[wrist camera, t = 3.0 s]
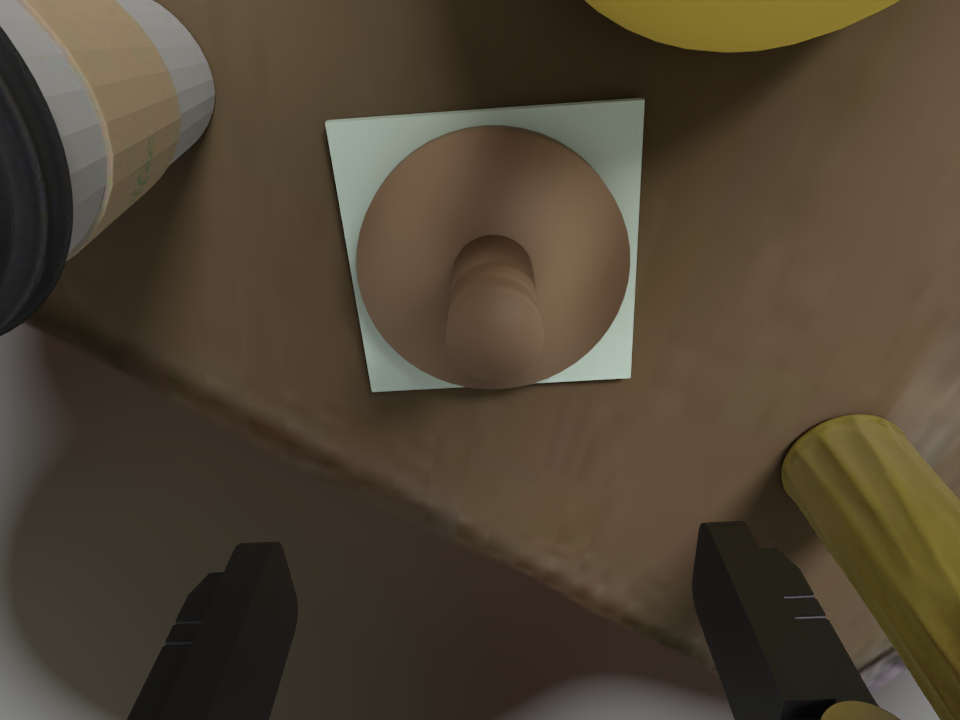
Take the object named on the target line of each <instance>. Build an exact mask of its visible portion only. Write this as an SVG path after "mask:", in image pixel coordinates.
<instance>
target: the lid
mask: <svg viewBox="0 0 960 720" xmlns="http://www.w3.org/2000/svg"><path fill="white" fill-rule="evenodd" d="M356 268H357V278H358V284H359V288H360V293H361V297H362V300H363V302H364V305H365V307H366V310H367V313H368V314H369V316H370V318H371V320H372V322H373V324H374V325H375V327H376V329H377V330H378V331H379V333H380V334H381V335H382V337H383V338H384V340H385V341H386V342H387V343H388V344H389V345H390V346H391V347H392V348H393V349H394V350H395V351H396V352H397V353H398V354H399V355H400V356H401V357H403V358H404V359H405V360H406V361H407V362H409V363H410V364H412V365H413V366H415V367H416V368H418V369H419V370H421V371H423V372H425V373H427V374H429V375H431V376H433V377H435V378H437V379H440V380H443V381H446V382H448V383H451V384H455V385H459V386H464V387H469V388H477V389H507V388H516V387H521V386H525V385H530V384H533V383H536V382H539V381H542V380H545V379H548V378H550V377H552V376H554V375H556V374H558V373H560V372H562V371H564V370H565V369H567V368H568V367H570V366H572V365H573V364H575V363H576V362H577V361H579V360H580V359H581V358H582V357H584V356H585V355H586V354H587V353H589V352H590V350H591V349H592V348H593V347H594V346H595V345H596V344H597V343H598V342H599V341H600V340H601V339H602V337H603V336H604V335H605V333H606V332H607V331H608V329H609V328H610V326H611V325H612V323H613V321H614V319H615V318H616V316H617V314H618V312H619V309H620V307H621V304H622V302H623V300H624V297H625V293H626V289H627V285H628V281H629V272H630V245H629V239H628V233H627V229H626V225H625V222H624V219H623V216H622V213H621V211H620V209H619V207H618V205H617V203H616V201H615V199H614V197H613V195H612V194H611V192H610V191H609V189H608V188H607V186H606V185H605V183H604V182H603V180H602V179H601V177H600V176H599V174H598V173H597V172H596V171H595V170H594V169H593V168H592V167H591V166H590V165H589V163H588V162H587V161H585V160H584V159H583V158H582V157H581V156H580V155H578V154H577V153H576V152H575V151H574V150H572V149H570V148H569V147H567V146H566V145H564V144H562V143H561V142H559V141H558V140H555V139H553V138H551V137H548V136H546V135H544V134H542V133H539V132H535V131H532V130H528V129H525V128H520V127H513V126H506V125H482V126H475V127H468V128H463V129H459V130H456V131H452V132H449V133H446V134H444V135H441V136H439V137H437V138H435V139H432V140H430V141H428V142H427V143H425V144H424V145H422V146H420V147H419V148H417V149H415V150H414V151H413V152H411V153H410V154H409V155H408V156H407V157H405V158H404V159H403V160H402V161H401V162H400V163H399V164H398V165H397V166H396V167H395V168H394V169H393V170H392V171H391V172H390V173H389V175H388V176H387V177H386V179H385V180H384V182H383V183H382V185H381V186H380V187H379V189H378V190H377V192H376V194H375V196H374V198H373V200H372V202H371V204H370V206H369V208H368V210H367V212H366V214H365V217H364V220H363V223H362V226H361V229H360V233H359V238H358V244H357V255H356Z"/></svg>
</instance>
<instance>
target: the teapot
mask: <svg viewBox="0 0 960 720" xmlns="http://www.w3.org/2000/svg"><path fill="white" fill-rule="evenodd" d="M584 1H586V2H587V3H588V4H589V5H590V6H592V7H593V8H594V9H595V10H596V11H598V12H599V13H601V14H602V15H604V16H605V17H607V18H609V19H610V20H612V21H614V22H615V23H617V24H619V25H620V26H622V27H624V28H625V29H627V30H629V31H632V32H634V33H636V34H639V35H641V36H644V37H646V38H648V39H651V40H653V41H656V42H659V43H664V44H668V45H672V46H676V47H680V48H684V49H691V50H702V51H713V52H724V53H731V52H750V51H762V50H767V49H773V48H778V47H783V46H788V45H793V44H796V43H800V42H803V41H806V40H809V39H812V38H815V37H818V36H821V35H824V34H827V33H831V32H834V31H837V30H840V29H842V28H845V27H847V26H849V25H851V24H853V23H855V22H857V21H860V20H862V19H864V18H866V17H868V16H870V15H873V14H875V13H877V12H879V11H881V10H883V9H885V8H887V7H889V6H891V5H893V4H895V3H896V2H898V1H900V0H584Z"/></svg>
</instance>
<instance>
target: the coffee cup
mask: <svg viewBox="0 0 960 720" xmlns="http://www.w3.org/2000/svg"><path fill="white" fill-rule="evenodd" d="M214 101H215V90H214V82H213V77H212V74H211V71H210V68H209V65H208V62H207V60H206V58H205V56H204V55H203V53H202V51H201V49H200V47H199V45H198V44H197V43H196V41H195V40H194V38H193V37H192V36H191V34H190V33H189V31H188V30H187V29H186V28H185V27H184V26H183V25H182V24H181V23H180V22H179V21H178V19H177V18H176V17H175V16H173V15H172V14H171V13H170V12H168V11H167V10H166V9H165V8H164V7H162V6H161V5H160V4H158V3H156V2H154V1H153V0H0V336H1V335H3V334H5V333H7V332H9V331H11V330H13V329H14V328H15V327H17V326H19V325H20V324H22V323H23V322H24V321H25V320H27V319H28V318H29V317H30V316H31V315H33V314H34V313H35V312H36V310H37V309H38V308H39V307H40V306H41V305H42V304H43V303H44V302H45V300H46V299H47V298H48V296H49V295H50V293H51V292H52V291H53V289H54V287H55V285H56V283H57V281H58V280H59V278H60V276H61V273H62V270H63V268H64V265H65V263H66V261H67V260H69V259H70V258H72V257H73V256H75V255H76V254H77V253H78V252H79V251H81V250H82V249H83V248H84V247H85V246H86V245H87V244H88V243H90V242H91V241H92V240H93V239H94V238H95V237H96V236H98V235H99V234H100V233H101V232H102V231H103V230H104V229H105V228H107V227H108V226H109V225H110V224H111V223H112V222H113V221H114V220H116V219H117V218H118V217H119V216H120V215H121V214H122V213H124V212H125V211H126V210H127V209H128V208H129V207H130V206H131V205H133V204H134V203H135V202H136V201H137V200H138V199H139V198H140V197H142V196H143V195H144V194H145V193H146V192H147V191H148V190H150V188H151V187H152V186H153V185H154V184H155V183H156V182H157V181H158V180H159V179H160V178H161V177H162V176H163V174H164V173H165V171H166V169H167V168H168V166H169V165H171V164H172V163H173V162H174V161H175V160H176V159H177V158H179V157H180V156H181V155H182V154H183V153H184V152H185V151H186V150H188V149H189V148H190V147H191V146H192V145H193V144H194V143H195V142H196V141H197V140H198V139H199V138H200V137H201V135H202V134H203V132H204V131H205V129H206V127H207V126H208V124H209V122H210V119H211V116H212V113H213V110H214Z"/></svg>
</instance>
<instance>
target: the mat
mask: <svg viewBox="0 0 960 720" xmlns="http://www.w3.org/2000/svg"><path fill="white" fill-rule="evenodd" d="M644 105H645V100H644V99H643V98H629V99H615V100H601V101H587V102H573V103H559V104H545V105H531V106H517V107H503V108H489V109H475V110H460V111H446V112H432V113H418V114H404V115H390V116H376V117H362V118H348V119H334V120H328V121H326V122H325V126H326V131H327V137H328V143H329V149H330V154H331V160H332V166H333V172H334V177H335V183H336V189H337V195H338V200H339V206H340V212H341V218H342V223H343V229H344V235H345V241H346V246H347V252H348V258H349V264H350V269H351V275H352V281H353V287H354V292H355V298H356V304H357V310H358V315H359V321H360V327H361V333H362V338H363V344H364V350H365V355H366V361H367V367H368V373H369V378H370V384H371V390H372V392H383V391H402V390H420V389H439V388H457V387H464V386H459V385H455V384H451V383H448V382H446V381H443V380H440V379H437V378H435V377H433V376H431V375H429V374H427V373H425V372H423V371H421V370H419V369H418V368H416V367H415V366H413V365H412V364H410V363H409V362H407V361H406V360H405V359H404V358H403V357H401V356H400V355H399V354H398V353H397V352H396V351H395V350H394V349H393V348H392V347H391V346H390V345H389V344H388V343H387V342H386V341H385V340H384V338H383V337H382V335H381V334H380V333H379V331H378V330H377V329H376V327H375V325H374V324H373V322H372V320H371V318H370V316H369V314H368V313H367V310H366V307H365V305H364V302H363V300H362V297H361V293H360V288H359V284H358V278H357V268H356V255H357V244H358V238H359V233H360V229H361V226H362V223H363V220H364V217H365V214H366V212H367V210H368V208H369V206H370V204H371V202H372V200H373V198H374V196H375V194H376V192H377V190H378V189H379V187H380V186H381V185H382V183H383V182H384V180H385V179H386V177H387V176H388V175H389V173H390V172H391V171H392V170H393V169H394V168H395V167H396V166H397V165H398V164H399V163H400V162H401V161H402V160H403V159H404V158H405V157H407V156H408V155H409V154H410V153H411V152H413V151H414V150H415V149H417V148H419V147H420V146H422V145H424V144H425V143H427V142H428V141H430V140H432V139H435V138H437V137H439V136H441V135H444V134H446V133H449V132H452V131H456V130H459V129H463V128H468V127H475V126H482V125H506V126H513V127H520V128H525V129H528V130H532V131H535V132H539V133H542V134H544V135H546V136H548V137H551V138H553V139H555V140H558V141H559V142H561V143H562V144H564V145H566V146H567V147H569V148H570V149H572V150H574V151H575V152H576V153H577V154H578V155H580V156H581V157H582V158H583V159H584V160H585V161H587V162H588V163H589V165H590V166H591V167H592V168H593V169H594V170H595V171H596V172H597V173H598V174H599V176H600V177H601V179H602V180H603V182H604V183H605V185H606V186H607V188H608V189H609V191H610V192H611V194H612V195H613V197H614V199H615V201H616V203H617V205H618V207H619V209H620V211H621V213H622V216H623V219H624V222H625V225H626V229H627V233H628V239H629V245H630V272H629V281H628V285H627V289H626V293H625V297H624V300H623V302H622V304H621V307H620V309H619V312H618V314H617V316H616V318H615V319H614V321H613V323H612V325H611V326H610V328H609V329H608V331H607V332H606V333H605V335H604V336H603V337H602V339H601V340H600V341H599V342H598V343H597V344H596V345H595V346H594V347H593V348H592V349H591V350H590V352H589V353H587V354H586V355H585V356H584V357H582V358H581V359H580V360H579V361H577V362H576V363H575V364H573V365H572V366H570V367H568V368H567V369H565V370H564V371H562V372H560V373H558V374H556V375H554V376H552V377H550V378H548V379H545V380H542V381H539V382H536V383H549V382H567V381H585V380H604V379H622V378H631V360H632V340H633V321H634V301H635V281H636V262H637V242H638V223H639V203H640V183H641V164H642V144H643V125H644Z"/></svg>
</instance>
